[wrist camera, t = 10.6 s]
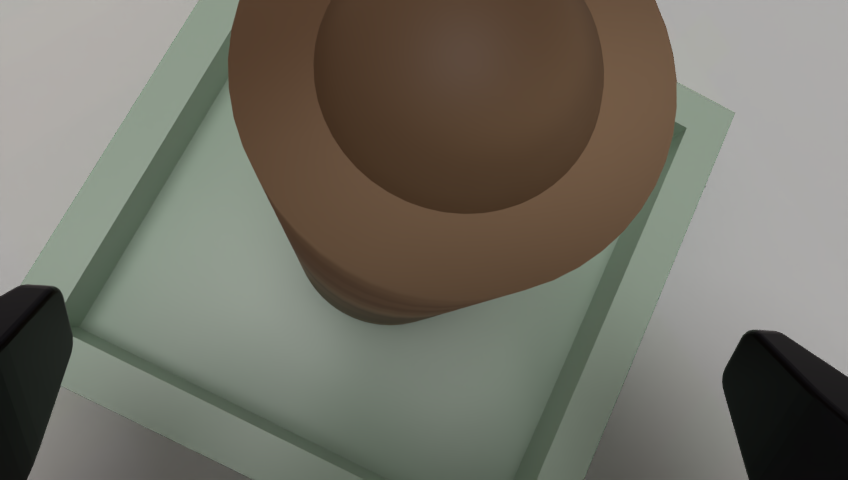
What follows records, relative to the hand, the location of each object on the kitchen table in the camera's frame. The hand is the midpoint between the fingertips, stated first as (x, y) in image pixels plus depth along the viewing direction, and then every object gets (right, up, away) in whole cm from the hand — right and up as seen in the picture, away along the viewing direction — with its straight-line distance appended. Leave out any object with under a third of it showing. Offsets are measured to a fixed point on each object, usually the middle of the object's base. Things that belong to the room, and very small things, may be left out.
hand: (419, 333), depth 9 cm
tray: (-1, +1, +9) cm, 9 cm away
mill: (-1, +1, +8) cm, 8 cm away
